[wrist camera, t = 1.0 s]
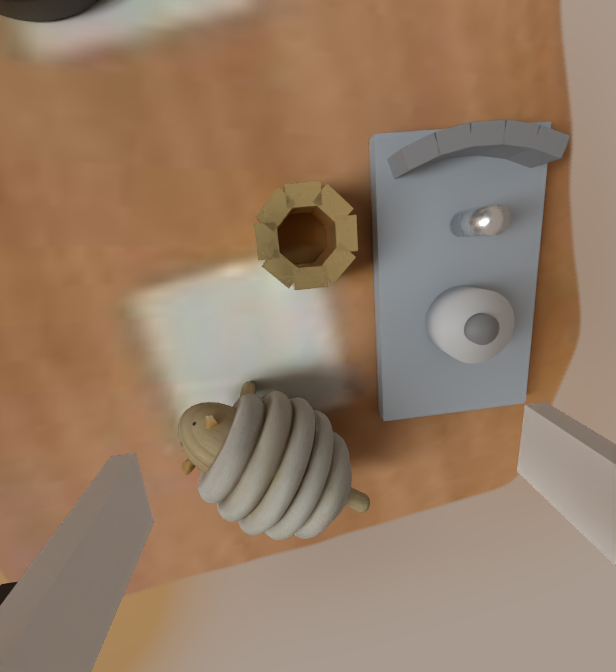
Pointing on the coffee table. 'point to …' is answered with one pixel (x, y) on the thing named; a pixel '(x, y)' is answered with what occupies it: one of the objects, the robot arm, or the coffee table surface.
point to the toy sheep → (269, 463)
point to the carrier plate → (456, 264)
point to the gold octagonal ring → (327, 212)
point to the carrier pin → (481, 221)
